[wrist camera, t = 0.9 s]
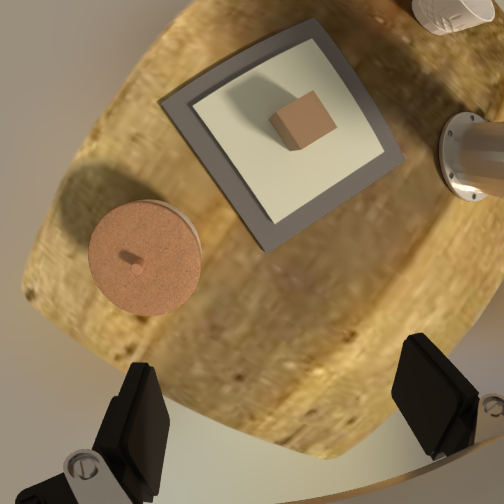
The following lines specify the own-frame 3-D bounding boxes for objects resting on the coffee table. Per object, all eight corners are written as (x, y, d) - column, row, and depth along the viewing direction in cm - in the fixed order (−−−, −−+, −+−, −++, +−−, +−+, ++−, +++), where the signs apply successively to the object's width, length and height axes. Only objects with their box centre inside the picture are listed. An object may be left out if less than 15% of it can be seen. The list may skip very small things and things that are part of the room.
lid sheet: (310, 40, 27) (325, 20, 22) (381, 151, 32) (408, 151, 26) (193, 107, 29) (186, 96, 23) (273, 222, 33) (283, 235, 27)
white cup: (426, 42, 28) (472, 22, 18) (397, -5, 26) (436, -35, 16) (458, 36, 28) (503, 20, 18) (432, -8, 25) (471, -31, 16)
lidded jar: (97, 237, 32) (59, 263, 24) (160, 171, 31) (135, 176, 22) (160, 302, 35) (142, 345, 26) (226, 243, 34) (226, 274, 25)
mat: (313, 19, 27) (314, 17, 26) (403, 160, 33) (405, 160, 32) (161, 104, 29) (160, 103, 28) (266, 252, 35) (266, 253, 34)
